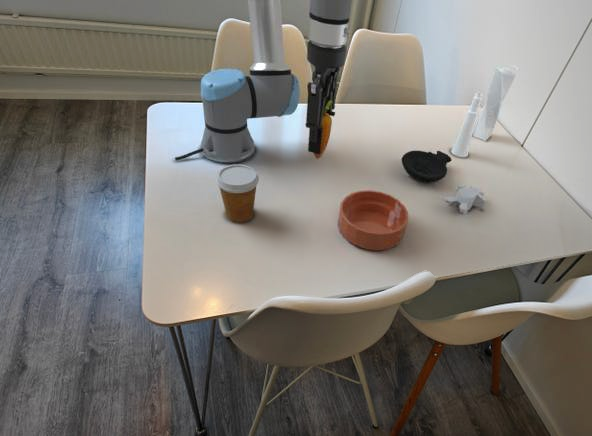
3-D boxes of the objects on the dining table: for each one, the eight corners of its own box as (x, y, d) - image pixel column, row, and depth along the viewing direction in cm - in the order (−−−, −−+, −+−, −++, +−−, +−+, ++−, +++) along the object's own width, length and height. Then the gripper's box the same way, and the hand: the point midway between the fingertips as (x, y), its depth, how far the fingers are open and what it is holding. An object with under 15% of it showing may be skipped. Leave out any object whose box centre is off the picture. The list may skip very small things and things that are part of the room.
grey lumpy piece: (494, 193, 118) (471, 207, 108) (487, 207, 121) (464, 222, 111) (467, 178, 123) (442, 190, 112) (461, 192, 125) (436, 205, 115)
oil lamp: (462, 176, 131) (467, 163, 128) (423, 194, 119) (427, 180, 116) (429, 155, 138) (432, 142, 135) (389, 170, 127) (392, 156, 124)
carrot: (329, 155, 97) (336, 96, 87) (325, 165, 93) (332, 105, 83) (309, 151, 97) (313, 91, 87) (304, 161, 93) (308, 100, 83)
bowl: (346, 255, 95) (349, 236, 91) (331, 209, 107) (333, 191, 103) (413, 248, 100) (418, 231, 96) (391, 206, 112) (395, 189, 109)
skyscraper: (494, 137, 158) (522, 65, 140) (488, 143, 152) (516, 70, 135) (475, 129, 160) (500, 58, 143) (469, 135, 155) (494, 63, 137)
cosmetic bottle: (461, 148, 146) (480, 89, 132) (471, 156, 142) (492, 97, 128) (447, 149, 144) (466, 90, 130) (457, 158, 140) (477, 98, 126)
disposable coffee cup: (239, 232, 95) (237, 191, 88) (211, 215, 98) (206, 174, 91) (267, 213, 102) (267, 174, 95) (240, 198, 105) (237, 158, 98)
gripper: (331, 60, 71) (320, 170, 85) (357, 35, 85) (344, 134, 99) (291, 50, 71) (287, 161, 86) (324, 27, 85) (316, 126, 100)
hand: (318, 146), depth 93 cm, fingers closed on carrot, 5 cm apart
